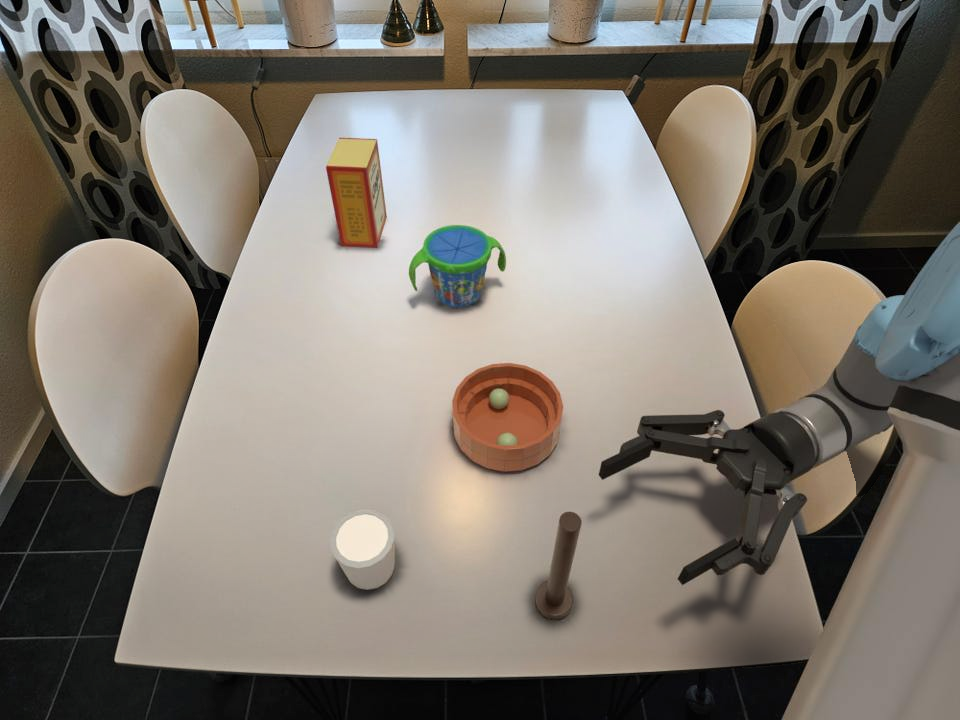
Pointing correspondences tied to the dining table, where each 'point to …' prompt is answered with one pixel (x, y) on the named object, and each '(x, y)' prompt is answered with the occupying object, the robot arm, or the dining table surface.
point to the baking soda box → (357, 191)
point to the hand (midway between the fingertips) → (639, 520)
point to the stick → (560, 570)
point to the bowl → (507, 416)
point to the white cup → (364, 548)
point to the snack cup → (457, 263)
